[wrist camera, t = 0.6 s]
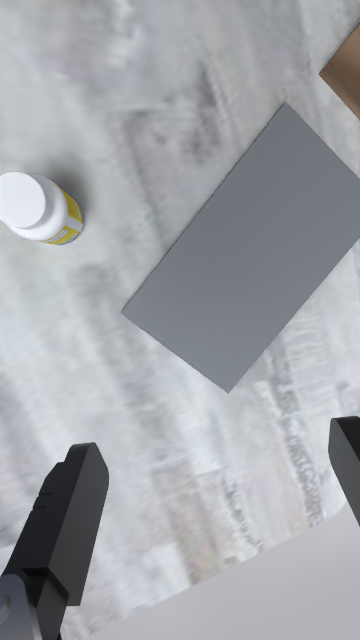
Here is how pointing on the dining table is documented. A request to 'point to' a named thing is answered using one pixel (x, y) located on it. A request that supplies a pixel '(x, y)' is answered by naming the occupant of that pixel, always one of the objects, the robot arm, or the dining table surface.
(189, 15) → the dining table surface
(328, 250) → the mat
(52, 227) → the supplement bottle
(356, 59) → the brown tall pedestal shape
